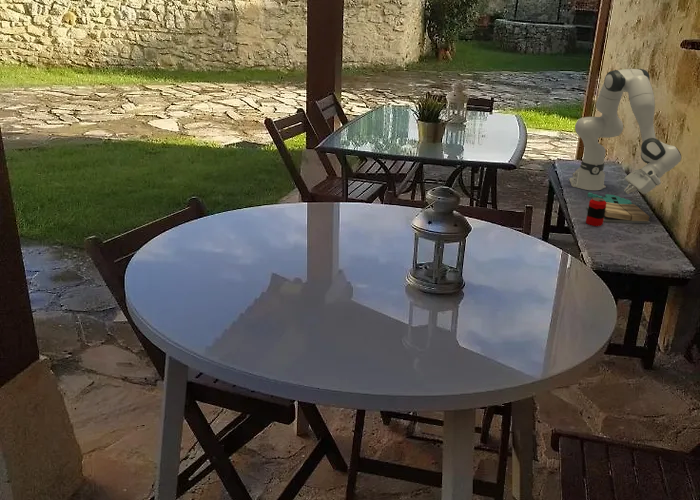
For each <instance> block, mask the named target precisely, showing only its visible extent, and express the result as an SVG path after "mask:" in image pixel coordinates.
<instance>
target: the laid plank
mask: <svg viewBox="0 0 700 500" xmlns="http://www.w3.org/2000/svg"><path fill="white" fill-rule="evenodd" d="M619 205H620V206H621V207H622V208H623V209H624V210H626V211H627V212H628V213H629V214H630V215H631V216H632V217H631V221H650V215H649V214H647V213H646V212H645V211H644V210H642V209H641V208H640V207H638V205H636V204H634V203H632V204H619Z"/></svg>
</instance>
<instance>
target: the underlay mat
mask: <svg viewBox="0 0 700 500" xmlns="http://www.w3.org/2000/svg"><path fill="white" fill-rule="evenodd" d="M588 207H589V206H586V208H585V209H586V210H587V211H588ZM603 223H611V224H612V223H614V224H635V223H639V225H640V224H641V225H650V224H651V221H650V220H649V221H630V220H624V219H617V218H611V217H606V216H605V215H604V220H603Z"/></svg>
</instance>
